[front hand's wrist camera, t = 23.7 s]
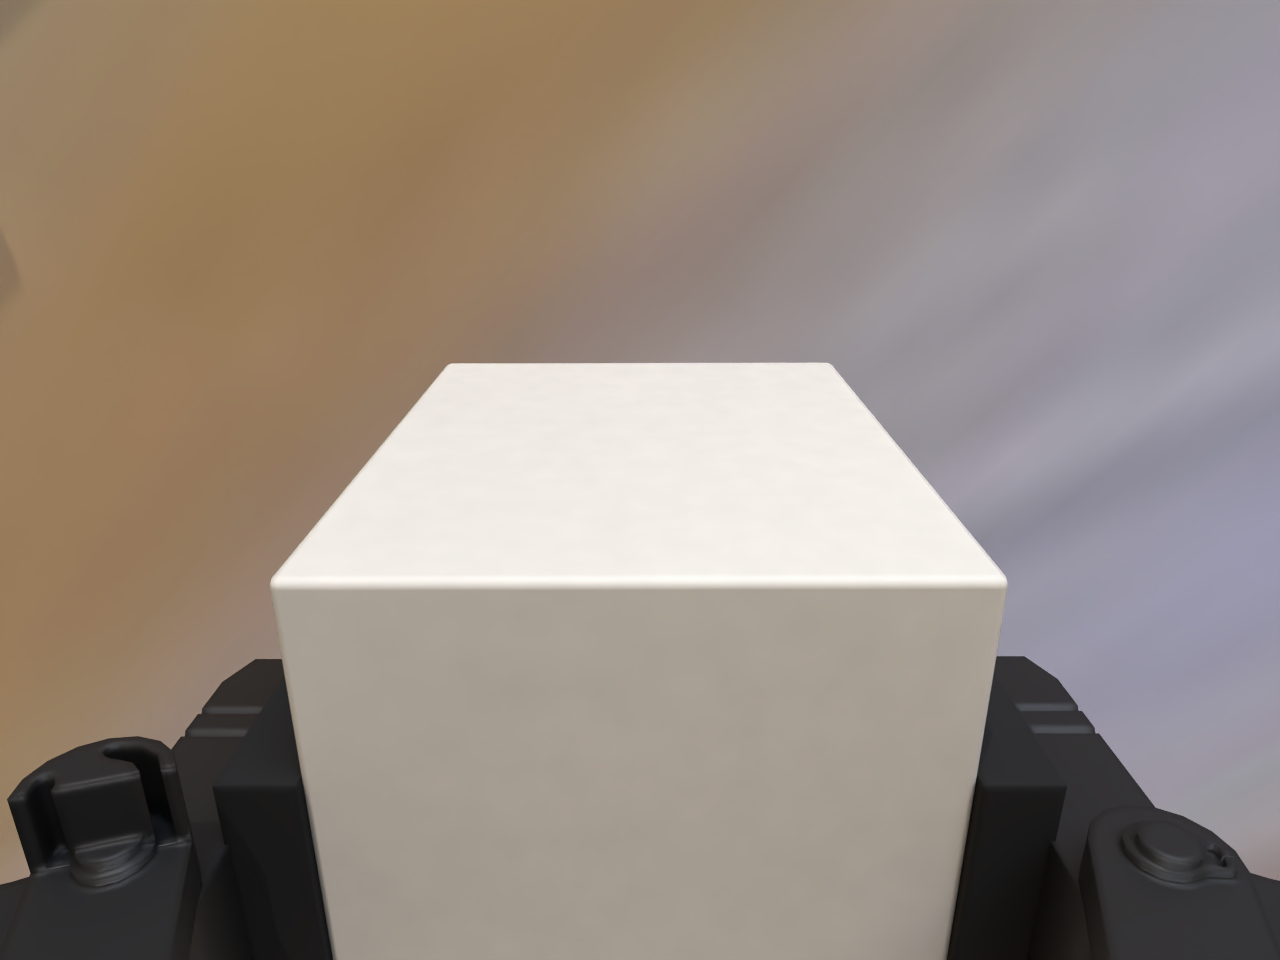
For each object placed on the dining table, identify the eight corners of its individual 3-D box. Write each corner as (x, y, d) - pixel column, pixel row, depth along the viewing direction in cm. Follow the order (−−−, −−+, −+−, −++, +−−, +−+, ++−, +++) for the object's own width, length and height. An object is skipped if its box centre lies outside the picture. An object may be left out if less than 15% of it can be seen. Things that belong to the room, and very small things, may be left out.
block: (805, 702, 17) (925, 1113, 10) (474, 703, 17) (356, 1114, 10) (832, 361, 14) (1014, 579, 7) (446, 362, 14) (263, 580, 7)
